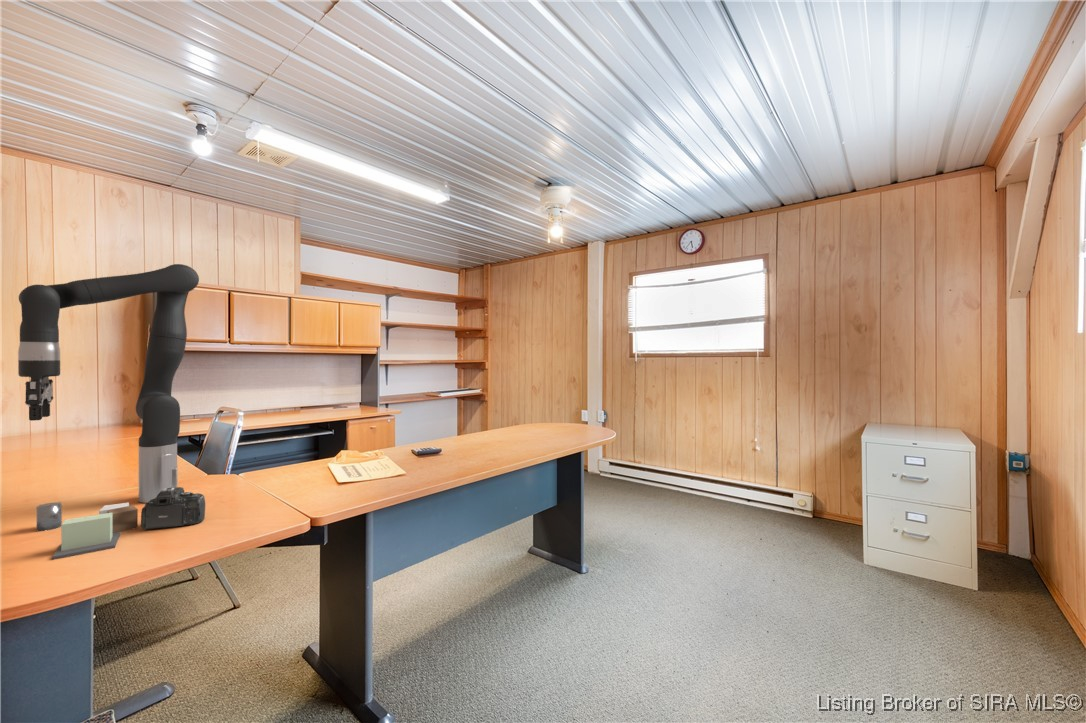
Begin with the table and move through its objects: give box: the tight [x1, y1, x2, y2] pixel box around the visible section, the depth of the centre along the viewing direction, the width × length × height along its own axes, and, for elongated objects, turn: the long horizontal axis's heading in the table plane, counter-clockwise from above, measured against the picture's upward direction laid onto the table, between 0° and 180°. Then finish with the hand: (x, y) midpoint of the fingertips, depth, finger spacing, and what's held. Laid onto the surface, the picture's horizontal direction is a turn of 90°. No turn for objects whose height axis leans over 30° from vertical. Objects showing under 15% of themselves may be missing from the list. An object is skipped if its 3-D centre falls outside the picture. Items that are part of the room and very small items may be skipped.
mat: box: [51, 532, 121, 560], centre depth 105 cm, size 10×10×1 cm
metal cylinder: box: [36, 501, 63, 532], centre depth 115 cm, size 4×4×6 cm
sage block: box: [60, 513, 113, 551], centre depth 105 cm, size 8×4×6 cm, turn 129°
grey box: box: [98, 502, 130, 515], centre depth 121 cm, size 5×5×4 cm
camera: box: [140, 486, 206, 530], centre depth 119 cm, size 13×10×10 cm
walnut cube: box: [107, 504, 139, 533], centre depth 115 cm, size 5×5×5 cm
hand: (39, 418), depth 120 cm, fingers open, 8 cm apart
